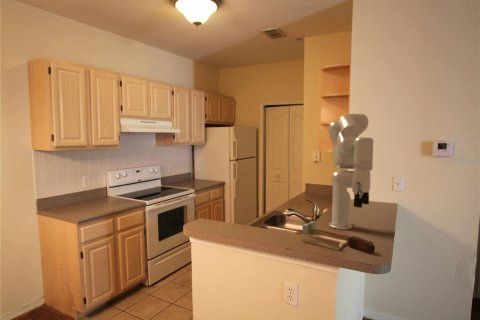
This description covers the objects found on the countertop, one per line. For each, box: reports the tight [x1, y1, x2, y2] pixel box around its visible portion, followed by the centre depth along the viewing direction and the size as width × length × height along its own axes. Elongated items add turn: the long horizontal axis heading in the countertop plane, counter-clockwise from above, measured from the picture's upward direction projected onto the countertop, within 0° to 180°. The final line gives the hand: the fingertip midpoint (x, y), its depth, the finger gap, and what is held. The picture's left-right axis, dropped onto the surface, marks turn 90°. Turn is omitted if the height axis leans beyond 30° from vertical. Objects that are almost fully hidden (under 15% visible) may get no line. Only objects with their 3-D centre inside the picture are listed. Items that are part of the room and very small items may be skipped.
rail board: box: [300, 220, 350, 251], centre depth 138 cm, size 13×18×7 cm
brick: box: [347, 235, 376, 255], centre depth 128 cm, size 11×4×5 cm, turn 35°
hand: (361, 205), depth 127 cm, fingers open, 9 cm apart
